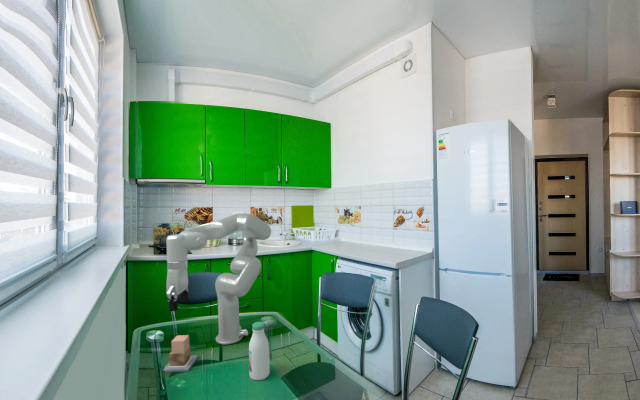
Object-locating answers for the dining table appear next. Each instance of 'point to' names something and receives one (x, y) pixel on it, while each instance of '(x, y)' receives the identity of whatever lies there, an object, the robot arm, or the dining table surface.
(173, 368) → the plate
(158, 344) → the dining table surface
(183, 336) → the terracotta block
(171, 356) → the walnut block
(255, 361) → the milk bottle
